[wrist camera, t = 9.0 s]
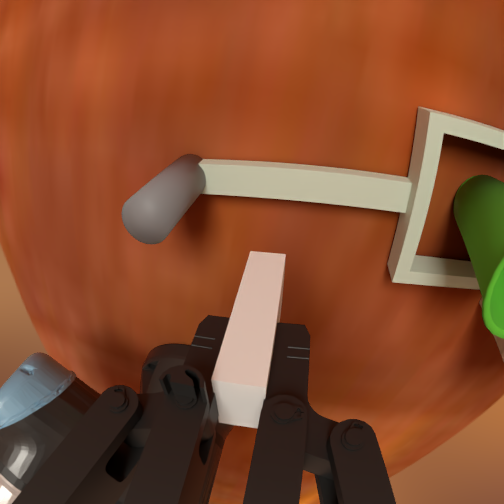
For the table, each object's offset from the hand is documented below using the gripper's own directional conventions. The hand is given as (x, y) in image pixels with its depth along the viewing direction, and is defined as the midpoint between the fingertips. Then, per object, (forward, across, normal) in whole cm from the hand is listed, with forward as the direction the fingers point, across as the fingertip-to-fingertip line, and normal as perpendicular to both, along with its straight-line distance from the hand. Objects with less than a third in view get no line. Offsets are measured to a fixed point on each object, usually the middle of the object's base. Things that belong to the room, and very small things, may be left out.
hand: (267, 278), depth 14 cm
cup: (+12, +16, +1) cm, 20 cm away
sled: (+11, +7, +1) cm, 13 cm away
